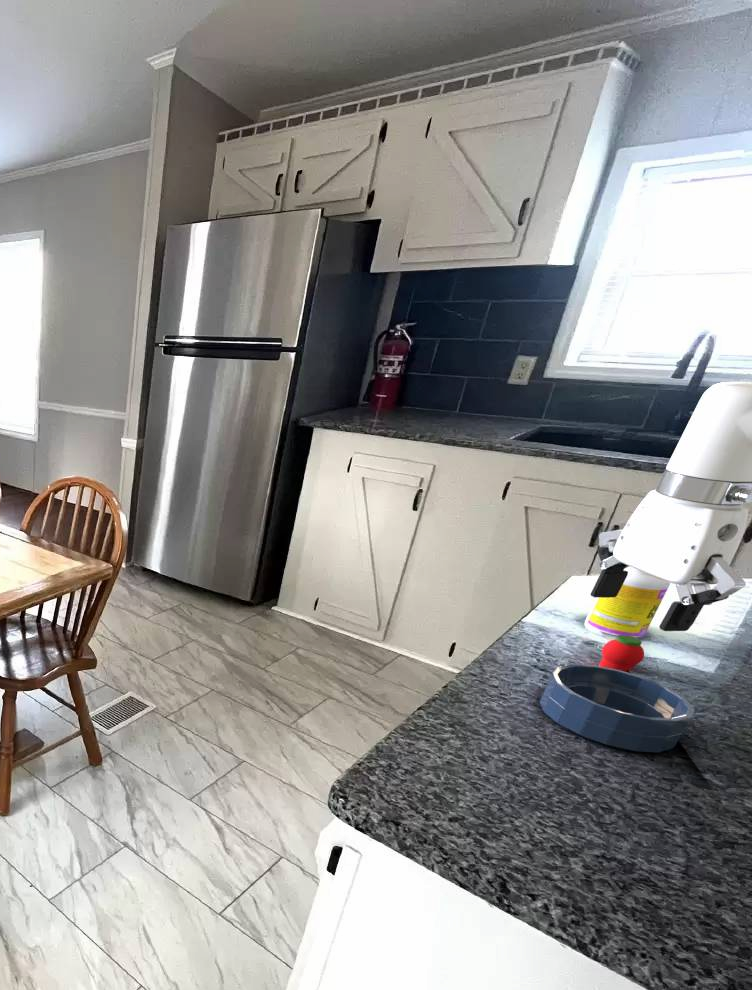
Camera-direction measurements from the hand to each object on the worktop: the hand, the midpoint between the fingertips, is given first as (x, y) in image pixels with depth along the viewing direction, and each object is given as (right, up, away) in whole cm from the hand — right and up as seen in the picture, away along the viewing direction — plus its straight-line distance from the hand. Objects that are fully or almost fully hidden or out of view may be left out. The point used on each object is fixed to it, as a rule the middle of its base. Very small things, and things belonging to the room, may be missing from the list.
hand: (636, 612), depth 85 cm
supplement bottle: (+10, -4, +13) cm, 17 cm away
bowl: (-12, -14, -7) cm, 20 cm away
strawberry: (+1, -8, +3) cm, 9 cm away
